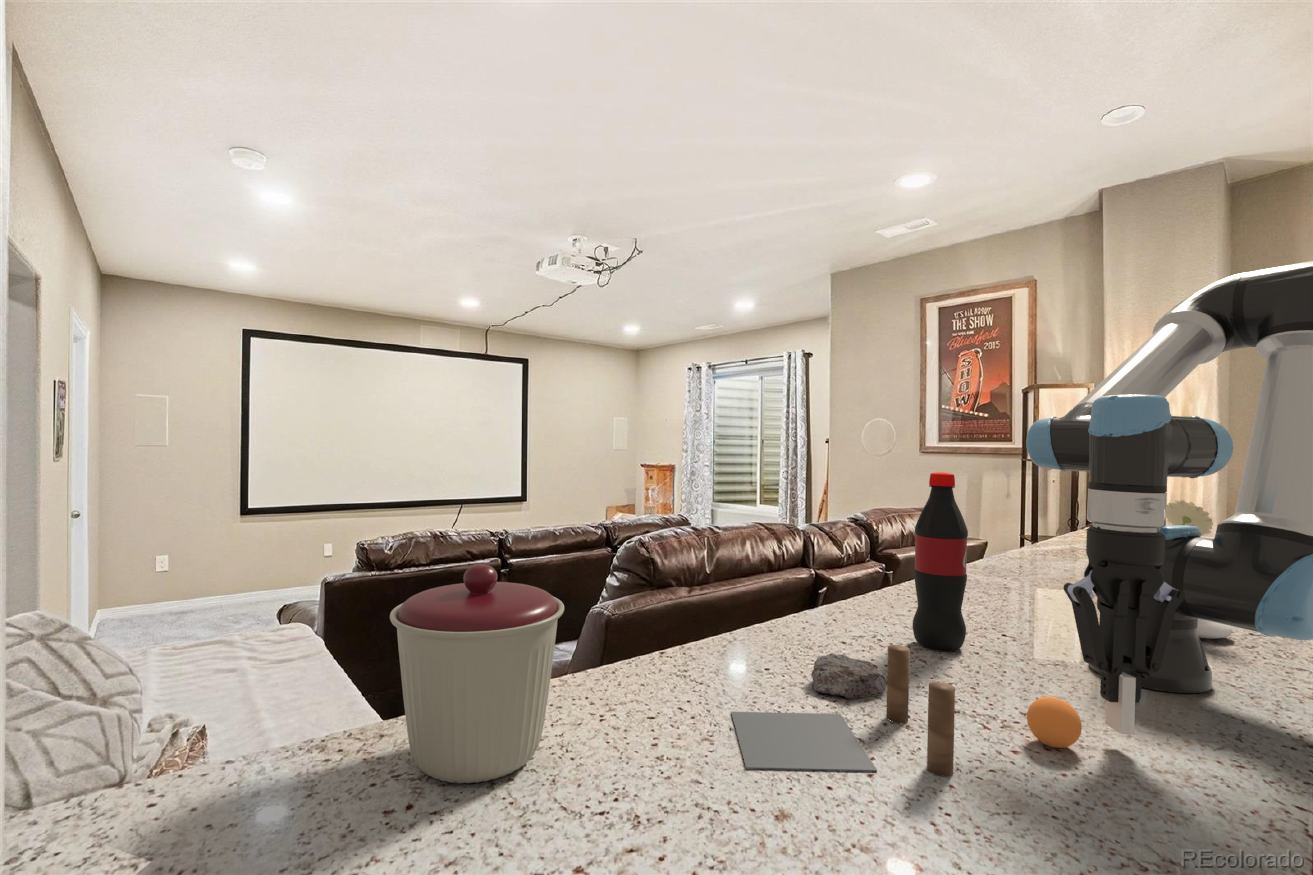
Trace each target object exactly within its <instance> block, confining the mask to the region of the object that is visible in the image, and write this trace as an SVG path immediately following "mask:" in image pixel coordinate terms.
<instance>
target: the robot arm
mask: <svg viewBox="0 0 1313 875" xmlns="http://www.w3.org/2000/svg"><path fill="white" fill-rule="evenodd" d="M1247 348H1255V350H1256V352H1257V353H1258V354H1259V355H1260V356H1261V357H1262V358H1264V359H1265V360H1266V364H1265V368H1264V373H1263V378H1262V381H1261V382H1262V383H1261V386H1260V392H1259V396H1258V402H1257V406H1256V410H1255V416H1254V421H1253V426H1252V429H1251V434H1250V439H1249V444H1248V448H1247V453H1246V457H1245V458H1246V459H1245V463H1244V468H1243V472H1242V476H1241V477H1242V478H1241V482H1240V485H1239V486H1240V487H1239V491H1238V494H1237V495H1238V496H1237V500H1236V506H1235V510H1234V514H1233V515H1231V516H1230V517H1228V518H1225V519H1223V520H1221V521H1219V522H1218V523H1217V525H1216V526H1217V527H1216V531H1215V535H1214V537H1213V538H1207V537H1202V535H1201V534H1202V533H1201V532H1200V530H1199V528H1198V527H1197V526H1187V525H1172V524H1170V525H1168V524H1167V518H1166V509H1167V508H1166V505H1168V504H1167V502H1168V501H1167V500H1168V499H1167V497H1168V478H1189V479H1197V478H1199V477H1208V476H1212V475H1214V474H1216V473H1218V472H1220V471H1221V470H1222V469H1224V468H1225V467H1226V466H1227V465H1228V463H1229V462H1230V460H1231V458H1232V456H1233V452H1234V442H1233V439H1232V436H1231V435H1230V433H1229V431H1228V430H1227V429H1226V428H1225V427H1224V425H1221V424H1220V423H1218V422H1217V421H1214V420H1212V419H1209V418H1204V417H1200V416H1198V415H1197V416H1196V415H1191V416H1190V415H1189V416H1186V415H1185V416H1184V415H1182V416H1181V415H1172V414H1171V408H1170V402H1169V401H1168V400H1167V397H1168V395H1169V394H1170V393H1172V391H1173V390H1174V389H1175V388H1176V387H1177V386H1179V385H1180V384H1181V383H1182V382H1183V381H1184V380H1185V379H1186V378H1187V377H1188V376H1189V375H1190V374H1191V373H1192V372H1193V371H1194V370H1195V369H1196V368H1197V367H1198V366H1199V365H1203V364H1206V363H1209V362H1211V361H1213V360H1215V359H1216V358H1217V357H1219V356H1220V355H1221V354H1222V353H1224V352H1228V351H1233V350H1239V349H1247ZM1025 443H1026V444H1025V446H1026V451H1027V454H1028V455H1029V458H1030V460H1031V461H1032V462H1033V463H1034V464H1035V466H1038V467H1040V468H1043V469H1050V470H1059V471H1062V472H1086V473H1087V472H1089V474H1088V488H1087V504H1086V505H1087V507H1086V508H1087V509H1086V520H1087V521H1088V522H1090V523H1092V525H1089V526H1088V527H1087V528H1086V542H1085V544H1086V545H1085V546H1086V547H1085V549H1086V550H1085V553H1086V556H1087V560H1088V564H1087V567H1086V568H1085V570H1084V573H1083V578H1081V579H1080V580H1078V581H1076V582H1075V583H1071V582H1066V583H1065V584H1064V585H1063V591H1064V592H1065V594H1066V596H1067V598H1068V599H1069V601H1070V602H1071V606H1072V612H1073V615H1074V616H1073V617H1074V619H1075V625H1076V630H1077V635H1078V639H1079V644H1080V649H1081V654H1082V660H1083V661H1084V662H1085V663H1086V664H1088V666H1089V667H1090V668H1091V669H1092V670H1093V671H1095V672H1096V673H1098V674H1100V685H1099V687H1100V692H1099V694H1100V696H1101V698H1102V699H1104V700H1105V710H1104V711H1105V712H1104V715H1105V716H1104V719H1105V720H1104V724H1105V725H1106V726H1108V727H1110V728H1111V729H1113V730H1114V731H1115V732H1117V733H1119V734H1121V735H1135V716H1136V714H1135V713H1136V704H1138V703H1140V701H1141V700H1142V699H1141V698H1142V688H1143V687H1144V688H1145V689H1148V690H1153V691H1154V690H1155V691H1161V692H1166V691H1168V693H1176V694H1177V693H1178V694H1199V693H1200V694H1201V693H1205V692H1206V693H1207V692H1208V691H1210V690H1211V689H1212V687H1213V685H1212V684H1213V672H1212V669H1211V667H1210V665H1209V662H1208V658H1207V655H1206V652H1205V649H1204V647H1203V644H1202V641H1201V638H1199V635H1198V628H1197V626H1198V618H1199V619H1203V620H1207V621H1212V622H1216V623H1221V624H1225V625H1229V626H1230V627H1235V628H1238V629H1243V630H1247V631H1252V632H1256V633H1260V634H1262V635H1264V636H1266V637H1267V636H1268V637H1280V638H1283V639H1284V638H1285V639H1289V640H1296V641H1305V642H1307V641H1313V260H1308V261H1303V262H1298V263H1296V262H1295V263H1292V264H1286V265H1285V264H1284V265H1281V266H1280V265H1279V266H1274V267H1269V268H1268V267H1267V268H1263V269H1257V270H1251V271H1250V270H1249V271H1245V272H1240V273H1236V274H1232V275H1230V276H1227V277H1224V278H1222V279H1219V280H1216V281H1214V282H1212V283H1211V284H1208V285H1207V286H1204V287H1202V288H1201V289H1199V290H1198V291H1195V293H1192V294H1191V295H1189V296H1187V297H1185V299H1183V300H1182V301H1180V302H1179V303H1178V304H1176V305H1174V306H1173V307H1172V308H1171V309H1169V311H1167V312H1166V313H1165V314H1163V316H1161V317H1160V318H1159V319H1158V321H1157V322H1156V323H1155V324H1154V327H1153V330H1152V335H1151V336H1149V337H1148V338H1147V339H1146V340H1145V341H1144V342H1143V343H1142V344H1141V345H1140V346H1138V348H1137V349H1135V351H1133V352H1132V353H1131V354H1130V355H1129V356H1128V357H1127V358H1125V360H1123V362H1121V363H1120V364H1119V365H1118V366H1117V367H1116V368H1115V369H1113V371H1112V372H1110V374H1108V375H1107V376H1106V377H1105V378H1104V379H1103V380H1102V381H1101V382H1100V383H1098V385H1097V386H1095V387H1094V388H1093V389H1092V390H1091V391H1090V392H1089V393H1088V394H1086V396H1084V397H1083V398H1082V399H1081V400H1080V401H1079V402H1078V403H1077V404H1075V406H1073V407H1072V409H1070V410H1069V411H1068V412H1067V413H1066V414H1064V415H1063V416H1062V417H1057V416H1051V417H1048V418H1047V417H1046V418H1045V417H1044V418H1041V419H1040V418H1039V419H1038V420H1036V421H1034V422H1033V423H1032V425H1031V426H1030V427H1029V429H1028V431H1027V435H1026V440H1025ZM1095 596H1096V597H1097V599H1096V605H1095V603H1094V598H1095ZM1096 608H1097V609H1096ZM1097 610H1098V612H1099V617H1098V612H1097ZM1144 688H1143V689H1144ZM1169 691H1170V692H1169Z"/></svg>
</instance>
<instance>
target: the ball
mask: <svg viewBox="0 0 1313 875" xmlns="http://www.w3.org/2000/svg"><path fill="white" fill-rule="evenodd" d="M1026 721H1027V725H1028V728H1029V730H1030V733H1032V735H1033V736H1034V737H1035V738H1036V739H1037V740H1038V741H1040V742H1041V743H1043V744H1044V745H1046V746H1049V747H1050V748H1051V747H1052V748H1056V749H1064V748H1067V747H1068V748H1069V747H1071V746H1072V745H1075V743H1077V741H1078V740H1079V739H1080V737H1081V734H1082V727H1083V726H1082V721H1081V718H1080V715H1079V713H1078V712H1077V710H1075V708H1074V707H1073V706H1072V705H1071V704H1069V702H1067V701H1065V700H1063V699H1061V698H1059V697H1054V696H1043V697H1039V698H1037V699H1035V700H1034V701H1033V702H1032V703H1031V704H1030V705H1029V707H1028V709H1027V711H1026Z"/></svg>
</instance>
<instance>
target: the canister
mask: <svg viewBox="0 0 1313 875" xmlns="http://www.w3.org/2000/svg"><path fill="white" fill-rule="evenodd" d="M564 612H565V605H564V603H563V602H562V600H560V599H559V598H557V597H555V596H553V595H552V594H551V593H549V592H548V591H547V590H544V589H542V588H540V587H537V586H534V585H533V586H532V585H529V584H526V583H517V582H509V581H498V573H497V571H496V569H495V568H494V567H493V566H491V565H488V564H482V563H481V564H475V565H471V566H470V567H467V569H466V570H465V572H464V573H463V583H462V582H461V583H454V584H448V585H443V586H442V585H441V586H436V587H433V588H429V589H426V590H423V591H420V592H418V593H416V594H413V595H412V596H410V597H409V598H407V599H406V600H405V601H404V602H403V603H400V604H399V605H397V606H395V607H394V608H393V609H392V610H391V612H390V614H389V620H390V622H391V624H392V625H393V626H394V627H395V628H396V634H397V635H396V636H397V644H398V645H397V646H398V647H397V648H398V657H399V667H400V678H401V687H402V688H401V689H402V699H403V707H404V715H405V723H406V730H407V739H408V746H409V749H410V752H411V756H412V758H413V760H414V762H415V764H416V765H417V766H418V768H419V769H420V771H422V772H423V773H424V774H426V775H427V776H429V777H432V778H433V779H434V780H440V781H442V782H449V784H451V783H452V784H453V783H457V784H464V783H466V784H472V783H477V784H478V783H480V782H488V781H490V780H496V779H498V778H501V777H505V776H506V775H510V774H513V773H514V772H515V771H517V770H519V769H520V768H522V766H523V767H524V766H525V765H526V764H527V763H528V761H530V760H531V759H532V758H533V756H534V754H535V753H536V751H537V749H538V747H539V744H540V742H541V738H542V734H543V731H544V725H545V719H546V712H547V706H548V699H549V692H550V686H551V679H552V678H551V677H552V670H553V661H554V653H555V646H556V639H557V638H556V637H557V628H558V619H560V617H562V616H563V614H564Z"/></svg>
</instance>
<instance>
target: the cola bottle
mask: <svg viewBox="0 0 1313 875" xmlns="http://www.w3.org/2000/svg"><path fill="white" fill-rule="evenodd" d="M955 479H956V478H955V474H953V473H949V472H942V471H939V472H932V473H930V475H929V482H928V483H929V485H928V487H931V489H930V493H929V495H928V496H929V497H928V499H927V501H926V502H925V505H924V507H923V509H922V511H921V512H920V514H919V517H918V519H917V522H916V523H915V526H914V533H915V538H914V539H915V540H914V542H915V546H914V550H915V551H914V570H913V577H914V578H913V579H914V585H915V593H916V599H917V607H916V608H917V609H916V611H915V613H914V616H913V618H912V619H913V620H912V633H913V637H914V640H915V641H916V643H917V644H919V645H920V646H921V647H922V648H926V649H928V650H931V651H936V652H948V653H949V652H955V651H958V650H960V649H961V648H962V646H963V644H964V643H965V640H966V636H967V626H966V622H965V619H964V617H963V611H962V607H963V602H964V596H965V591H966V586H967V582H968V574H967V557H968V555H967V554H968V553H967V552H968V536H969V530H968V527H967V524H966V522H965V520H964V517H963V515H962V512H961V510H960V508H959V506H958V504H957V502H956V499H955V495H954V489H955V488H956V480H955Z"/></svg>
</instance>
